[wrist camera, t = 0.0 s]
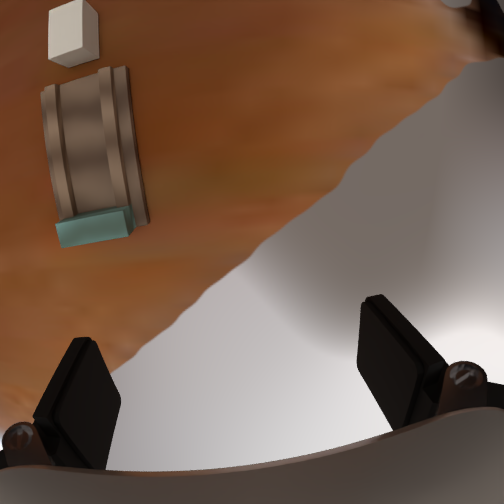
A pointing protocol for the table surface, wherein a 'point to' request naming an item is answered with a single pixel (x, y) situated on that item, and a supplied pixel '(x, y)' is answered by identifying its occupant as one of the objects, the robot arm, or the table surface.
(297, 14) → the table surface
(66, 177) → the channel board
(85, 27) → the cream block
